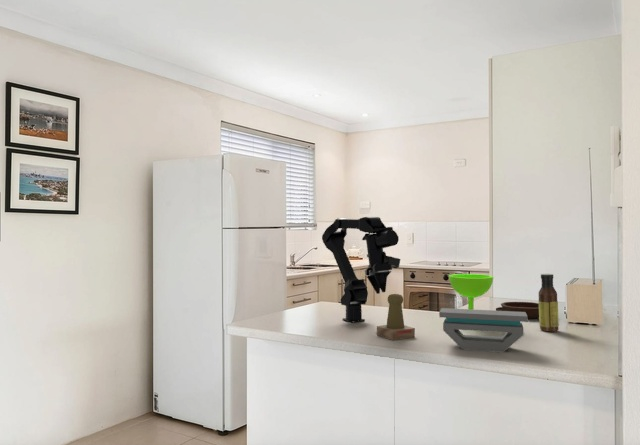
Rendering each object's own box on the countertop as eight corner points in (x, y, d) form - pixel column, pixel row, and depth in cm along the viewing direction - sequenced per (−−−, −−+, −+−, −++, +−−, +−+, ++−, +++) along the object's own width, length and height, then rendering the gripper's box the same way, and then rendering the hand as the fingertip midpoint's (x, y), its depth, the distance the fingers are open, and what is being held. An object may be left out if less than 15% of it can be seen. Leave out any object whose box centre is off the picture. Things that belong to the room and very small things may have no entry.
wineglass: (440, 324, 195) (440, 276, 195) (461, 318, 207) (461, 273, 207) (481, 330, 184) (481, 279, 184) (500, 323, 196) (500, 275, 196)
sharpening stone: (439, 347, 159) (439, 312, 159) (441, 342, 167) (441, 308, 167) (527, 353, 152) (527, 316, 152) (525, 347, 159) (525, 312, 159)
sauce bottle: (557, 329, 186) (557, 273, 186) (559, 333, 180) (559, 275, 180) (537, 328, 188) (537, 272, 188) (539, 331, 182) (539, 274, 182)
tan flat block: (376, 335, 177) (376, 326, 177) (397, 332, 181) (397, 323, 181) (393, 340, 169) (393, 331, 169) (415, 337, 173) (415, 328, 173)
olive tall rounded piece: (398, 329, 171) (398, 296, 171) (382, 327, 175) (382, 294, 175) (407, 326, 176) (407, 294, 176) (392, 324, 180) (392, 292, 180)
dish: (556, 322, 200) (556, 309, 200) (495, 319, 207) (495, 306, 207) (551, 314, 217) (551, 302, 217) (495, 311, 223) (495, 300, 223)
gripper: (403, 244, 184) (409, 288, 181) (390, 251, 202) (396, 291, 199) (372, 247, 182) (378, 292, 180) (362, 254, 201) (367, 295, 198)
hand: (381, 292), depth 189 cm, fingers open, 9 cm apart
